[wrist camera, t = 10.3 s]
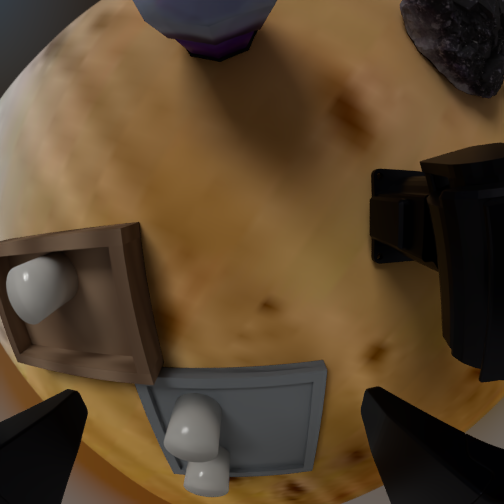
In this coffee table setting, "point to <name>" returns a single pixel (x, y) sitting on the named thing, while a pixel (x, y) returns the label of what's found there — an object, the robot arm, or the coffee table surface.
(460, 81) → the crystal cluster
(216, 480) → the stone
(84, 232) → the walnut box
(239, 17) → the potion bottle
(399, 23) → the coffee table surface
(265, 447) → the slate tray
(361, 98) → the coffee table surface
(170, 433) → the stone
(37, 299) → the stone
